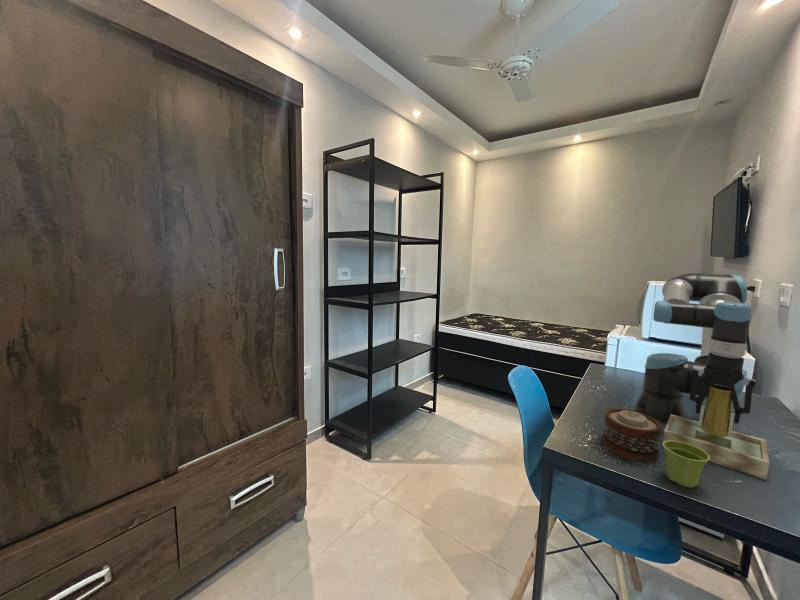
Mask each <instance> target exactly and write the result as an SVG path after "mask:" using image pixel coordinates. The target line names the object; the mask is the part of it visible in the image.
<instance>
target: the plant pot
mask: <svg viewBox="0 0 800 600" xmlns="http://www.w3.org/2000/svg"><path fill="white" fill-rule="evenodd" d="M662 443H663V446H662V447H663V449H664V453H665V465H666V466H665V467H666V477H667V478H668V479H669V481H671V480H672V481H671V482H675V483H676V484H678V485H679V486H681V485H682V486H681V487H685V488H692V489H693V487H694V488H696V487H697V486H698V484H699V481H700V478H701V475H702V472H703V470H704V467H705V466H706V465H707V462H710V461H709V460H710V456H709V455H708V454H707V453H706V452H705V451H703V450H702V449H700V448H698V447H696V446H693V445H690V444H687V443H684V442H680V441H673V440H668V441H664V442H663V441H662Z"/></svg>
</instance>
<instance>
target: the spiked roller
mask: <svg viewBox="0 0 800 600" xmlns="http://www.w3.org/2000/svg"><path fill="white" fill-rule="evenodd" d="M603 423H604V425H603V426H604V427H605V428H603V433H602V444H603V446H605V448H606V449H607V450H609V451H610V452H612V453H614V454H616V455H618V456H619V457H622V456H623V458H625V457H626V458H625V459H628V458H629V459H628V460H631V459H632V460H631V461H635V460H636V461H637V462H644V463H646V462H648V463H651V462H654V461H657V460H658V458H659V453H660V449H659V447H660V446H661V443H660V442H659V441H662V438H661V437H660V436H661V435H662V431H663V426H662V424H661V422H659V421H657V420H655V419H654V418H652V417H650V416H648V415H645V414H642V413H640V412H637V411H636V410H633V409H632V410H631V409H625V408H610V409H607V410H606V411H605V412H604V421H603Z"/></svg>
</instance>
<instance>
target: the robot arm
mask: <svg viewBox="0 0 800 600" xmlns="http://www.w3.org/2000/svg"><path fill="white" fill-rule="evenodd" d="M661 291H662V293H661V294H662V296H663V299H662V300H657V301H656V302H655V303H654V307H653V315H652V316H653V317H652V319H653V321H654V322H656V323H662V324H665V325H666V324H667V325H668V324H672V325H680V326H687V327H696V328H697V327H698V328H702V331H701V332H702V333H701V346H700V355H699V356H697V357H696V358H695V359H694V361H691V360H690V361H689V359H688V357H687V356H685V355H683V354H676V353H669V352H668V353H667V352H665V353H664V352H661V353H660V352H659V353H652V354H650V355H648V356H647V357H646V360H645V361H646V362H645V365H644V368H645V370H644V376H643V385H642V391H641V392H640V394H639V396H638V397H637V399H636V401H635V405H634V411H636V412H640V413H642V414H645V415H648V416H650V417H652V418H654V419H655V420H657V421H658V422H659V423H665V424H667V422H668V420H669V417H670V415H671V414H672V415H676V416H679V417H683V418H687V414H686V413H687V412H686V409H685V407H684V402H683V394H687V395H689V400H691V401H693V402H695V404H696V406H695V411H694V412H695V414H699V419H698V422H699V425H701V426H702V421H703V416H704V412H705V407H706V403H705V402H704V400H705V399H707V395H708V393H709V391H710V386H711V387H713V386H714V384H717V385H722V386H726V387H729V391H732V392H731V398H732V401H731V404H732V406H733V408H734V409H730V418H729V428H728V433H729V434H732V431H733V428H734V424H737V425H738V424H739V423H740V419H741V415H742V414H747V415H748V414H749V415H750V413H751V408H752V398H753V397H752V394H753V388H754V387H755V386H756V383H757V382H756V380H755V379H754V378H749V377H747V376H748V374H747V371H746V370H745V369H743V367H744V362H745V359H744V358H743V357H744V356H746V355H745V354H746V350H747V343H748V342H747V341H748V335H749V330H750V325H751V320H752V317H753V315H752V311H753V310H752V309H753V308H752V306H751V305H750V304H747V303H746V302H747V297H748V292H747V291H748V285H747V282H746V278H745V277H743V276H742V275H738V274H731V273H727V274H718V273H717V274H716V273H715V274H714V273H695V272H694V273H693V272H692V273H690V272H689V273H684V274H680V275H677V276H674V277H672V278H669V279H668V280H667V281H666V282H665V283H664V284H663V286H662V290H661ZM691 302H698V303H691ZM744 389H745V391H744ZM743 391H744V393H745V394H744V401H743V402H744V403H743V404H744V405H743V407H741V406H740V399H741V397H742V394H743Z"/></svg>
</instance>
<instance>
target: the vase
mask: <svg viewBox="0 0 800 600" xmlns="http://www.w3.org/2000/svg"><path fill="white" fill-rule="evenodd" d="M731 392H732V391H729V387H726V386H722V385H717V384H714V386H713V387H711V386H710V391H709V393H708V395H707V398H706V401H705V402H706V403H705V408H704V415H703V421H702V426H701V429H702V430H703V431H705V432H707V433H709V434H711V435H715V436H719V437H727V436H728V428H729V421H730V414H731V410H732V409H731V408H732V403H731V401H732V398H731Z"/></svg>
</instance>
